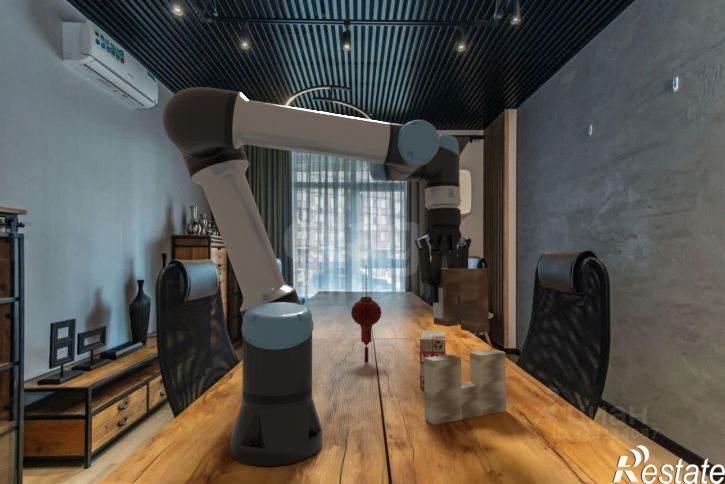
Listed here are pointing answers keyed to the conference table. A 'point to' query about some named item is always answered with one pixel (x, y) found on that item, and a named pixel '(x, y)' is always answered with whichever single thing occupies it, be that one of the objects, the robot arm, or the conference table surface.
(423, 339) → the red and beige box
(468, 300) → the tall brown wooden block
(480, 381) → the grey notched block
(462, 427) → the conference table surface
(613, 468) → the conference table surface
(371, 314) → the lantern
